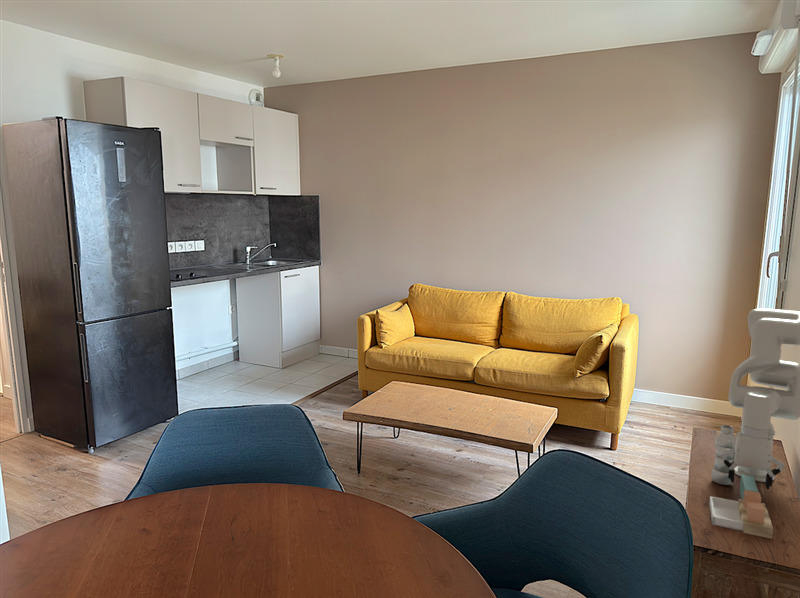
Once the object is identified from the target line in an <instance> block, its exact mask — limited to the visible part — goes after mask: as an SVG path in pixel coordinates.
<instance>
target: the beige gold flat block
mask: <svg viewBox="0 0 800 598" xmlns="http://www.w3.org/2000/svg"><path fill="white" fill-rule="evenodd" d="M737 499H738V500H737V501H739V506H738V510H739V514H740V519H741V521H742V522H744V526H743V531H742V532H743V534H748V535H752V536H753V535H754V536H757V537H763V538H767V539H773V537H774V536H773V535H774V526H773V523H772V520H771V518H770V514H769V511H768V509H767V506H766V503H764V502H761V504H763V505H764V508H765V519H764V524H763V523H758V522H753V521H748V520H747V516H746V509H747V508H744V504H743V499H741V498H737Z"/></svg>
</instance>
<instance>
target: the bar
mask: <svg viewBox="0 0 800 598" xmlns="http://www.w3.org/2000/svg"><path fill="white" fill-rule="evenodd" d="M757 486H758V485H757V482H756V481H755V479H754V477H753V476H747V475H741V476H740V484H739V495H740V494H741V495H740V499H741V498H742V499H743V496H744V490H748V491H753V492H759V488H758V487H757Z"/></svg>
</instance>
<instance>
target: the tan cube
mask: <svg viewBox="0 0 800 598" xmlns="http://www.w3.org/2000/svg"><path fill="white" fill-rule="evenodd" d="M747 501H749V502H754V503H759V504H761V503H762V495H761V493H760V492H759V491H758V492H753V491H748V490H744V496H743V504H744V508H747Z"/></svg>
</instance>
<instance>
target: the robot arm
mask: <svg viewBox="0 0 800 598" xmlns="http://www.w3.org/2000/svg"><path fill="white" fill-rule="evenodd" d="M747 328H748V332H749V333H748V334H749V336H750V339H751V345H750V352H749V357H748V358H747V359H745V360H744V361H742V362H741V363H740V364H739V365H738V366H737V367H736V368H735V369H734V370H733V372H732V374H731V379H730V384H729V389H728V401H729V404H730V405H731V406H733V407H735V408H738V409H742V418H741V426H740V427H741V428H740V431H738V432H737V434H736V437H735V439H736V440H735V444H734V450H731V451H727V452H723V453H721V457H722V459H723V462H724V463H725V465H726V466H727V467H728V468H729V474H728V478H729V479H730V480H731V482H732V484H733V483H734V482H735V475H737V476H739V477H741V475H747V476H753V477H754V479H755V482H762V483H765V488H766V490H770V488H771V487H772V486H773V481H774V480H775V476H777V475H778V474H781V472H782V470H784V468H785V467H786V466H785V464H784V462H782V461H780V460H778V459H777V458H776V457H774V456H773V453H772V452H773V446H774V445H773V444H774V436H775V434H776V432H775V428H774V425H773V423H772V422H771V417H773V418H779V419H784V420H790V421H795V420H798V419H800V363H799V362H795V361H789V360H782V359H781V357H782V356H781V355H782V345H787V346H800V311H798V310H787V309H777V308H762V307H761V308H755V309H751V310H750V311H749V313H748V315H747ZM749 374H750V375H749ZM746 375H749V377H750V380H751V381H752V382H753V383H755V384H757V385H753V386H751V385H750V386H749V385H745V384H741V380H742V379H743V378H744V377H745V376H746ZM759 385H761V386H759ZM762 385H763V386H762ZM765 386H767V387H765ZM771 387H774V388H771ZM777 388H781V389H777ZM783 389H786V390H783ZM732 455H733V461H732V462H731V463H730V462H729V461H728V460H727V458H726V457H728V456H732ZM772 463H774V464H775V465H777V466H776V467H775V468H773V469H771V468H772Z"/></svg>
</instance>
